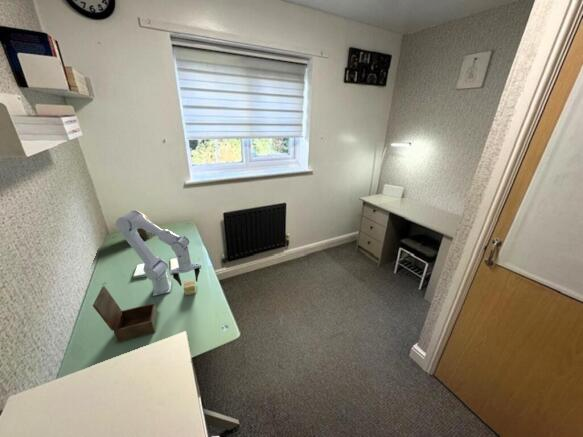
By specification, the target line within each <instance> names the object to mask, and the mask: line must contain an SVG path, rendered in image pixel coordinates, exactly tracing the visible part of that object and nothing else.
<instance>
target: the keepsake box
mask: <svg viewBox="0 0 583 437" xmlns="http://www.w3.org/2000/svg"><path fill="white" fill-rule="evenodd" d="M158 315H159V312H158V309H157V305H156V302H154V303H149V304H145V305H144V304H143V305H141V306H140V305H139V306H136V307H132V308H127V309H124V310H121V312H120V315H119V318H118V320H117V323H116V326H115V329H114V330H113V334H114V336H115V339H116V341H117V343H121V342H124V341H128V340H132V339H135V338H139V337H142V336H146V335H150V334H153V333H155V332H156V329H157V328H156V327H157V321H158Z"/></svg>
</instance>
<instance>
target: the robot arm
mask: <svg viewBox="0 0 583 437" xmlns="http://www.w3.org/2000/svg"><path fill="white" fill-rule="evenodd" d="M135 210H136V209H135ZM135 210H131V211H130V212H128V213H126V214H124V215H122V216H120V217H117V219H116V221H115V227H116V228H117V229H118V230H119V232H120V233H121V235H122V237H123V238H124V239H125V241H126V242H127V243H128V245H130V247H131V248H132V249H133V251H134V252H135V253H136V254H137V256H138V257H139V258H140V260H141V261H142V262H143V263H145V265H144V269H143V270H144V272H145V274H146V276H145V277H146V278H147V279H148V280H150V281H151V284H152V287H153V292H152V296H155V297H156V296H159V295H163V294H168V293H171V290H172V289H171V287H172V280H170V278H169V276H168V272H167V269H168V268H169V265H168V263H167V262H166V261H165V260H163V258H162V257H160V256H155V254H154V253H153V252H152V251H151V249H150V248H149V246H148V245H147V244H146V243H145V241H144V239H142V238H141V237H140V235H139V233H138V231H137V229H139V228H142V229H144V230H146V231H148V232H151V233H153V234H155V235H154V236H157V238H158V240H159V241H161V242H162V243H164V244H166V245H168V246H170V247H171V250H172V251H173V252H174V253H175V256H176V258H177V261H178V265H179V267H178V268H176V269H173V270H171V269H170V270H169V275H170V277H172V278H173V279H174V280H175V281H176V282H177V283H178V284H179V286H180V287H181V286H182V279H181V276H180V274H186V273H189V272H191V271H193V272H194V276H195V283H198V280H199V279H198V278H199V274H200V272H201V271H200V269H202V268H203V266H202V263H192V260H191V256H190V251H189V245H190V240H189V239H188V238H187V237H186V236H185V235H177V234H176V233H173V232H172V231H171V230H170V229H166V228H165V229H162V228H161V227H159V226H158V225H156V224H155V223H153V222H152V221H151V220H150V221H151V222H150V221H148V220H147V219H145V217H144V215H145V214H144V213H143V214H144V215H143V214H141V213H142V212H141V211H139V210H137V211H135ZM138 211H139V212H138ZM140 212H141V213H140Z"/></svg>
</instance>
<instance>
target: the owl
mask: <svg viewBox="0 0 583 437" xmlns="http://www.w3.org/2000/svg"><path fill="white" fill-rule="evenodd" d="M135 211H138V212H140V213H141V214H143V215H144V217H145V219H147V220H148V221H150V222H151V223H152V221H151V220H150V218H149V217H148V216H147V215H146V214H145V213H143V212H141V211H139V210H137V209H135ZM136 232H137V233H138V235H139V236H140V237H141V239H142V240H146V241H147V240H150V239H151V238H153V237H154V236H156V235H155V234H153V233H151V232H148V231H146V230H144V229H142V228H139V229H137V231H136Z"/></svg>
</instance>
